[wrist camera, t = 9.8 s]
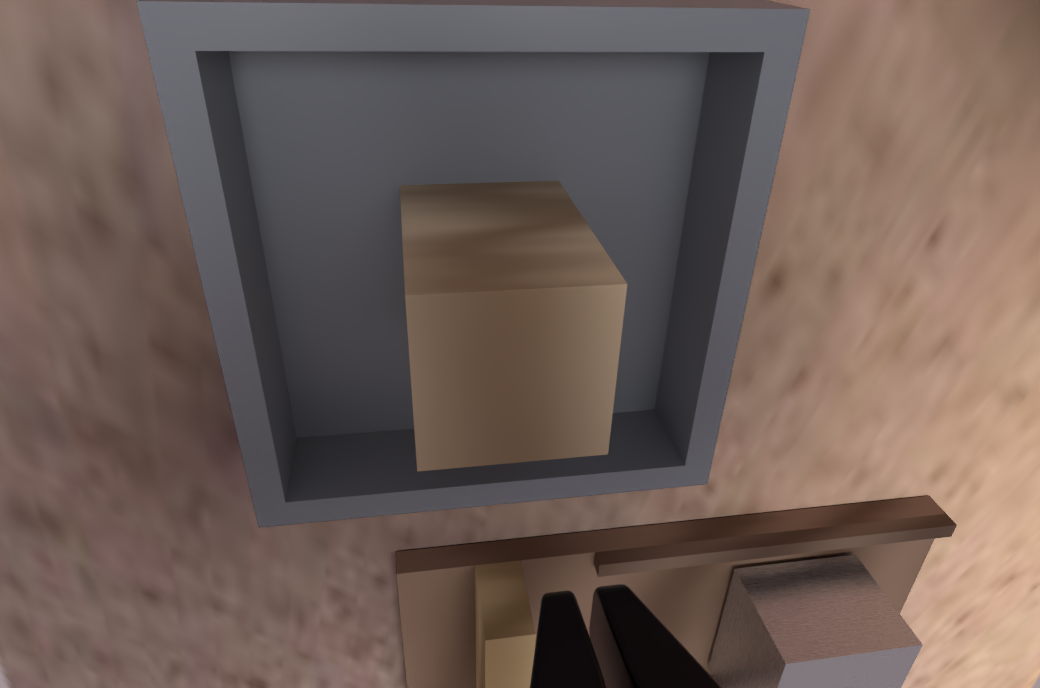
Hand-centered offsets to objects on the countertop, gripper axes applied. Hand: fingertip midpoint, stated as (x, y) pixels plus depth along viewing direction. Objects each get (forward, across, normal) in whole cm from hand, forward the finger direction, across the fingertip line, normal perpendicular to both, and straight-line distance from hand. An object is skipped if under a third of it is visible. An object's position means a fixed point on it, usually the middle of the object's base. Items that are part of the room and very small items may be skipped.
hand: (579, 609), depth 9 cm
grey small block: (+11, -12, +16) cm, 23 cm away
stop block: (+11, 0, 0) cm, 11 cm away
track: (+12, -8, +16) cm, 21 cm away
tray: (+12, 0, 0) cm, 12 cm away
